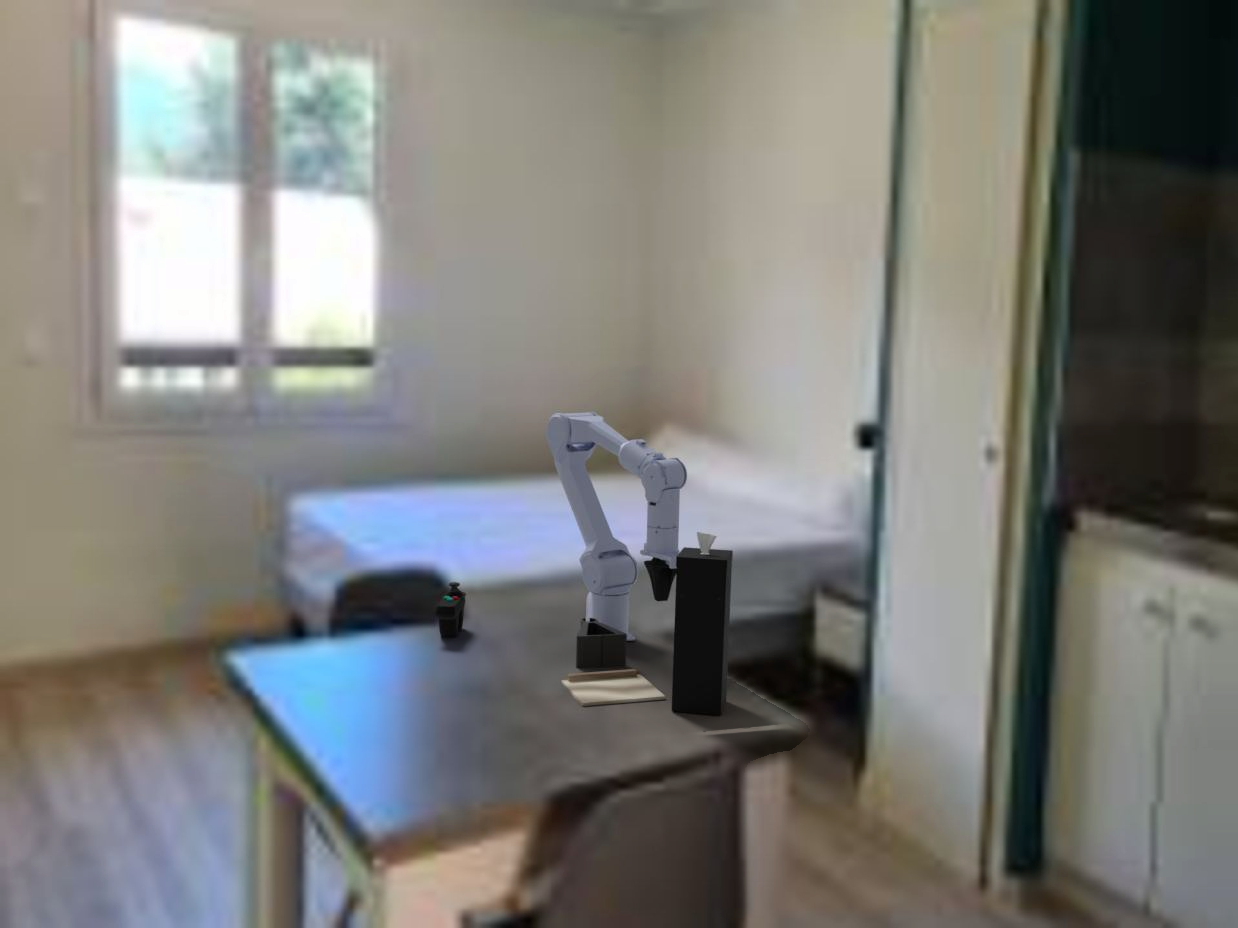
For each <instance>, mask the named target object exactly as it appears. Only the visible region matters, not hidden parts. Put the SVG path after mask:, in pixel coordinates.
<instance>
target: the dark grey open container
mask: <svg viewBox="0 0 1238 928" xmlns="http://www.w3.org/2000/svg"><path fill="white" fill-rule="evenodd" d="M575 643H576V649H575V652H576V653H575V654H576V655H575V668H576V669H585V668H586V669H588V668H592V669H593V668H616V667H621V666H622V667H626V666H627V646H628V645H627V643H628V641H627V634H626V633H624V632H621V631H619V630H617V629H614V628H612V627H610V626H607V625H605V624H602V623H600V622H598V621H597V619H595V618H590V622H587V621H586V617H584V618H583V617H582V618H581V619H580V628H579V630H578V632H577V635H576V642H575Z"/></svg>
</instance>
